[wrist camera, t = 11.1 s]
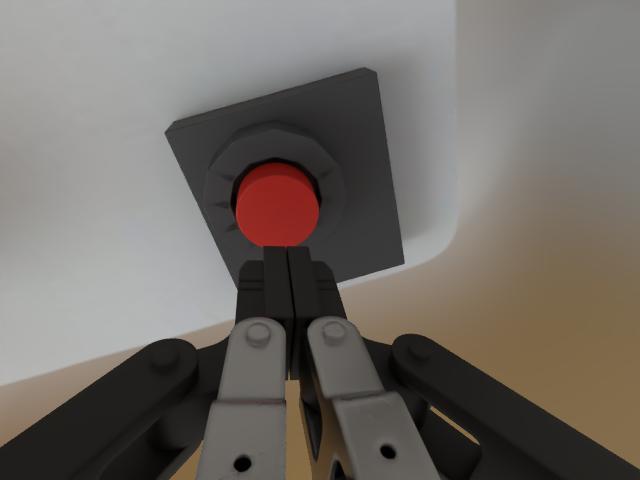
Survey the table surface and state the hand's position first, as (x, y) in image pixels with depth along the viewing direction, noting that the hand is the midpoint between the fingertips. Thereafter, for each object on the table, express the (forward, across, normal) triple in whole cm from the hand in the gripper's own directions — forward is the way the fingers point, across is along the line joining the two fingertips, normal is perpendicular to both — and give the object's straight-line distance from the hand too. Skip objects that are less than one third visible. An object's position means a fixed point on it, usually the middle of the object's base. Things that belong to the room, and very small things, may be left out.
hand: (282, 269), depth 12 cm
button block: (+9, -2, +1) cm, 10 cm away
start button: (+6, 0, 0) cm, 6 cm away
